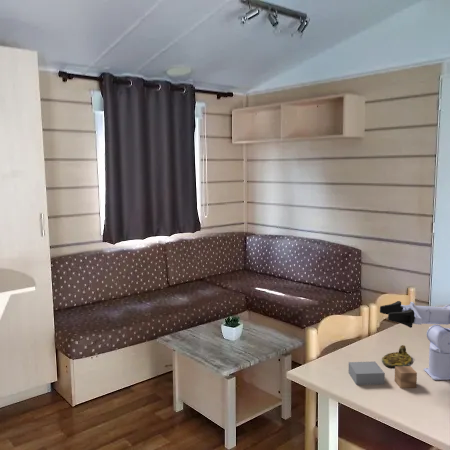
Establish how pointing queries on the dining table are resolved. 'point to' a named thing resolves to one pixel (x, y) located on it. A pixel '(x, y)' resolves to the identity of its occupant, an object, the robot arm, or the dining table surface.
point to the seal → (397, 358)
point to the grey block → (366, 373)
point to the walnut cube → (405, 377)
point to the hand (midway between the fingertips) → (384, 313)
